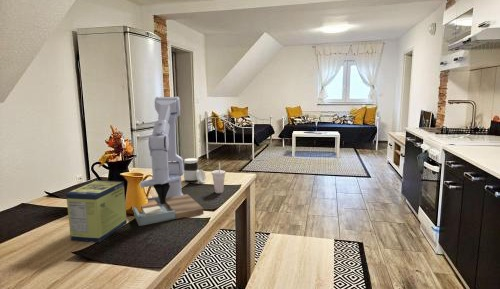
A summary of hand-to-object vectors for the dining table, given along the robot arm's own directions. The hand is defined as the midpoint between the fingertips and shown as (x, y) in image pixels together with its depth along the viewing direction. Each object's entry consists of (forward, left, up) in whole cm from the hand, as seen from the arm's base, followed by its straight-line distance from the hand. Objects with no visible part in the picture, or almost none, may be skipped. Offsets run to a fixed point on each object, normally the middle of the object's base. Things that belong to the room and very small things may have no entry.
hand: (162, 203), depth 118 cm
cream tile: (0, -4, -4) cm, 6 cm away
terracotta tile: (-9, -4, -4) cm, 10 cm away
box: (-4, -3, -5) cm, 7 cm away
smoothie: (-16, +29, -5) cm, 34 cm away
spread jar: (-39, +25, -5) cm, 47 cm away
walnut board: (-4, +9, -5) cm, 11 cm away
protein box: (+4, -22, -5) cm, 22 cm away
